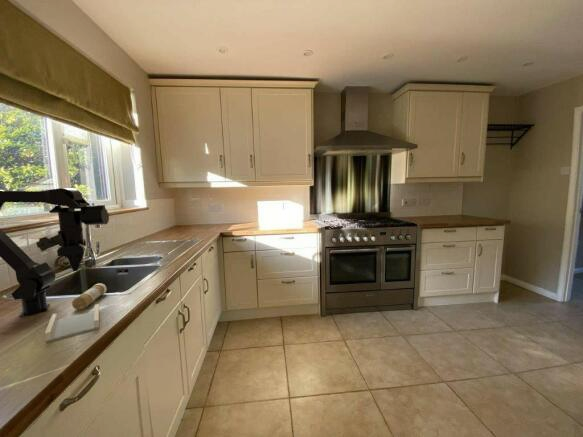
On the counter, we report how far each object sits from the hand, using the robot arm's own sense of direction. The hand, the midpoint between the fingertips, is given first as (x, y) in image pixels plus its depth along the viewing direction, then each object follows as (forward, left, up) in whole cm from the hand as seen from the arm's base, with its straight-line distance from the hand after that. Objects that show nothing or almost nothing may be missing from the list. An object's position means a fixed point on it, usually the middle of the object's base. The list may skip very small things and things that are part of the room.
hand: (75, 270), depth 85 cm
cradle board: (+17, 0, -12) cm, 21 cm away
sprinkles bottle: (+5, 0, -10) cm, 11 cm away
